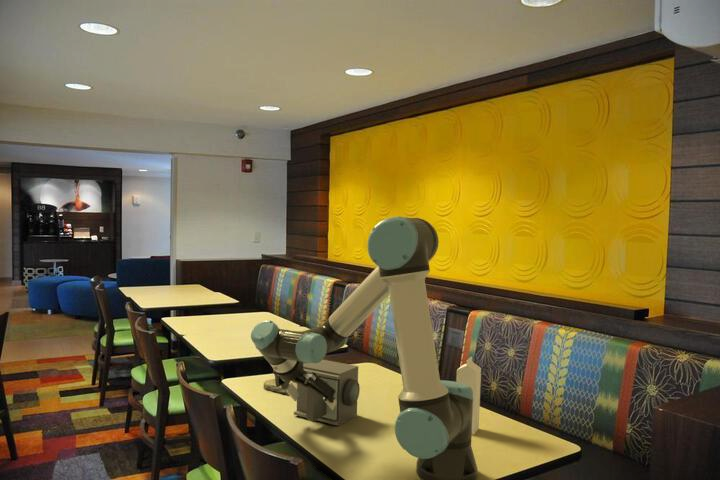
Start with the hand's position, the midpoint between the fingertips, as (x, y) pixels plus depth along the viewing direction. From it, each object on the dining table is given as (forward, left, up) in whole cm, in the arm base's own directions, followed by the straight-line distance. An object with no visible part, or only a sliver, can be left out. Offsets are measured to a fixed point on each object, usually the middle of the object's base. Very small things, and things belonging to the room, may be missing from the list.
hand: (315, 401), depth 167 cm
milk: (+5, -46, -8) cm, 47 cm away
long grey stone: (+30, +9, -8) cm, 32 cm away
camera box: (+9, -3, -8) cm, 12 cm away
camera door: (0, -1, -6) cm, 6 cm away
